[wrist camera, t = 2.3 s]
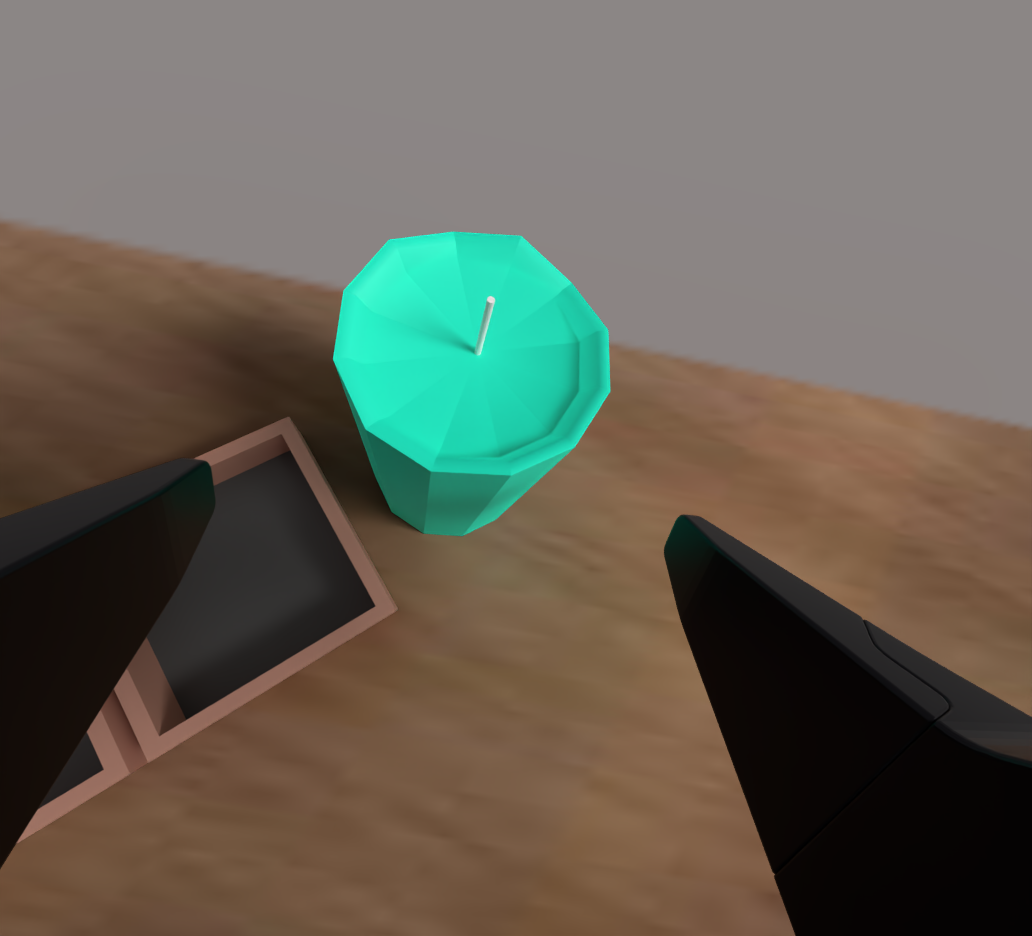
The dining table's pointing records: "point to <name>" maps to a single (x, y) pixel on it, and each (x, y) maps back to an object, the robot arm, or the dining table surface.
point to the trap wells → (234, 612)
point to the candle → (467, 373)
